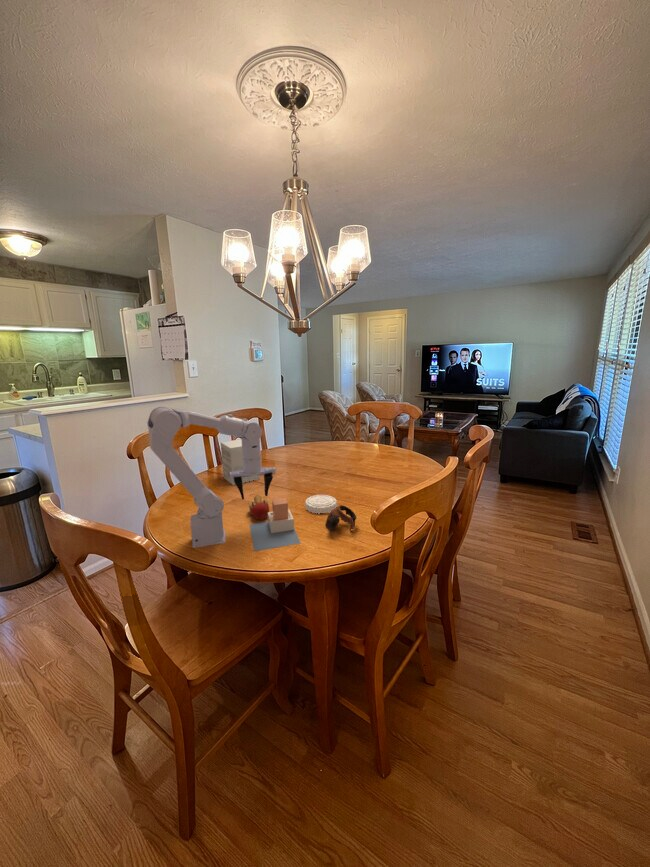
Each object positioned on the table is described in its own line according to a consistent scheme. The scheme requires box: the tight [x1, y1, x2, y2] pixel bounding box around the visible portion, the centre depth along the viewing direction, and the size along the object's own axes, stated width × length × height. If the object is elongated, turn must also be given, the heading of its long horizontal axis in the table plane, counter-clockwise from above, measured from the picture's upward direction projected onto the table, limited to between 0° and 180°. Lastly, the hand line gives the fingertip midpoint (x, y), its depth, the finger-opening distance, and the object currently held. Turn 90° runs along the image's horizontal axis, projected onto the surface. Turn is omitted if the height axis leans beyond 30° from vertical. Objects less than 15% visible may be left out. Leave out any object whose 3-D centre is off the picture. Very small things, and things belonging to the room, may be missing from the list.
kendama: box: [248, 494, 270, 521], centre depth 125 cm, size 8×6×18 cm
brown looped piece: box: [324, 504, 357, 531], centre depth 111 cm, size 12×10×8 cm
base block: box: [267, 508, 295, 533], centre depth 113 cm, size 8×8×4 cm
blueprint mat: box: [249, 521, 301, 552], centre depth 109 cm, size 14×17×1 cm
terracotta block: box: [271, 497, 289, 521], centre depth 112 cm, size 4×4×6 cm
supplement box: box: [220, 438, 261, 486], centre depth 157 cm, size 13×13×18 cm
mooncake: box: [304, 494, 338, 515], centre depth 127 cm, size 12×12×4 cm
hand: (254, 496), depth 113 cm, fingers open, 7 cm apart
